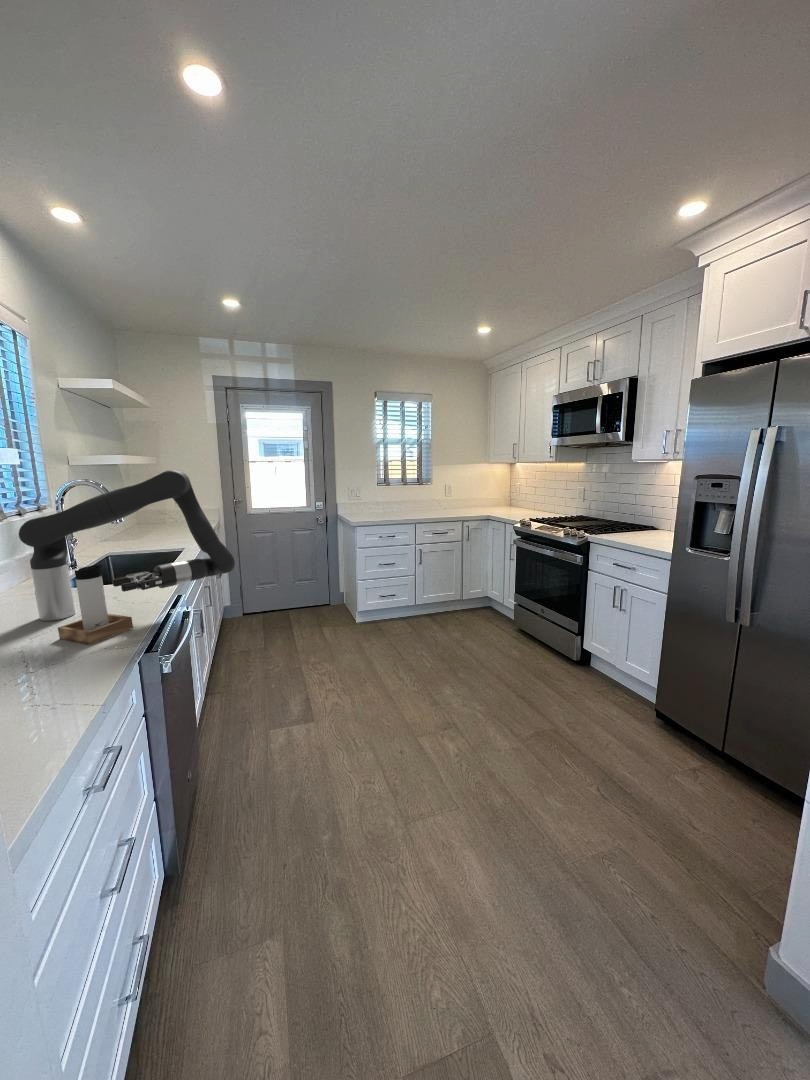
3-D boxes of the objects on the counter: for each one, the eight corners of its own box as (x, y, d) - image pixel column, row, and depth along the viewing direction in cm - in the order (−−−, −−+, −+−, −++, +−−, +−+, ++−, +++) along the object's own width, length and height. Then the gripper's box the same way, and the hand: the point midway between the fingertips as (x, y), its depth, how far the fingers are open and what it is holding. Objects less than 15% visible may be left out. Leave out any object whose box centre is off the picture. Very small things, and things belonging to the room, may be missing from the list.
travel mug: (104, 634, 129) (94, 567, 125) (79, 636, 128) (68, 569, 125) (115, 626, 135) (105, 562, 131) (91, 628, 134) (81, 563, 131)
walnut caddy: (59, 639, 128) (57, 627, 127) (104, 623, 140) (102, 612, 139) (89, 644, 123) (87, 632, 123) (133, 627, 135) (131, 617, 135)
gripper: (163, 560, 150) (108, 570, 138) (180, 566, 141) (122, 577, 129) (166, 581, 151) (111, 593, 140) (183, 588, 142) (126, 602, 130)
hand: (117, 585), depth 134 cm, fingers open, 8 cm apart
